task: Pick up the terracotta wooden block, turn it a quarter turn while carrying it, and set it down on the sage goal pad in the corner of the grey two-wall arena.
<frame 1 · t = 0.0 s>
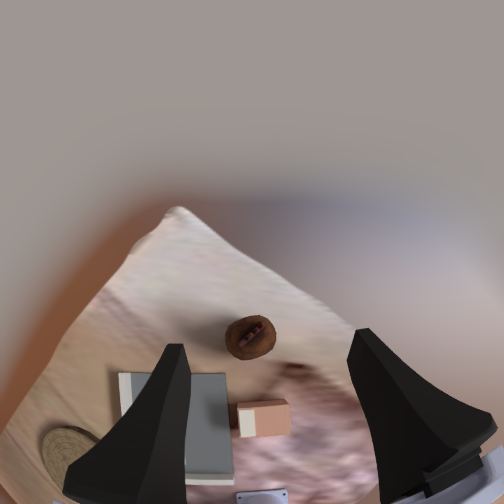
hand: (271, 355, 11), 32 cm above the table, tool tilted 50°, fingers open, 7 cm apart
wooden figurine: (249, 339, 43), on the table
arena: (177, 428, 37), on the table
brown flat round piece: (84, 464, 33), on the table
terracotta block: (262, 414, 39), on the table
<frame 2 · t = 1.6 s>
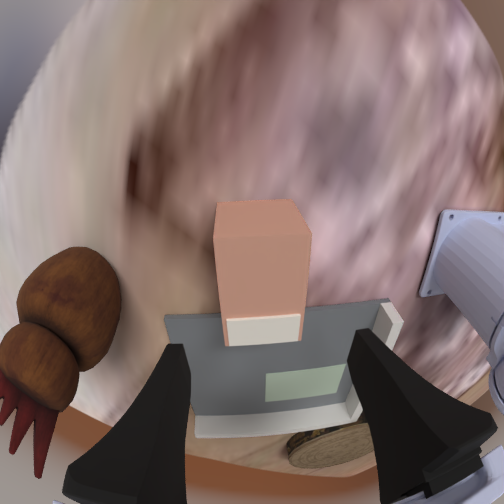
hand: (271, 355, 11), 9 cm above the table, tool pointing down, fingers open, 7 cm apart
wooden figurine: (93, 271, 19), on the table
arena: (279, 372, 25), on the table
brown flat round piece: (337, 433, 36), on the table
terracotta block: (255, 250, 19), on the table
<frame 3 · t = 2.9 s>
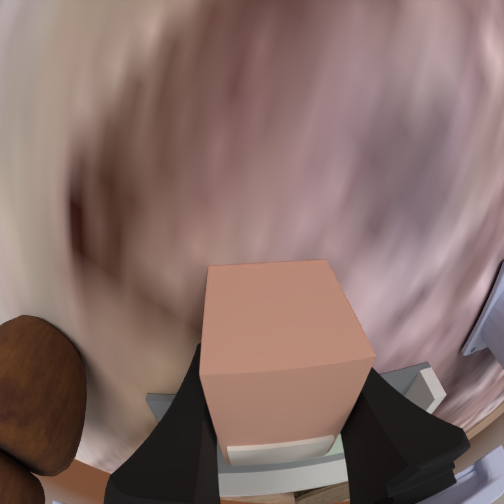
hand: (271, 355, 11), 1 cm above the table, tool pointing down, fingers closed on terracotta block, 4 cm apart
wooden figurine: (51, 340, 13), on the table
arena: (289, 440, 19), on the table
brown flat round piece: (348, 473, 29), on the table
terracotta block: (267, 329, 13), on the table, touching gripper
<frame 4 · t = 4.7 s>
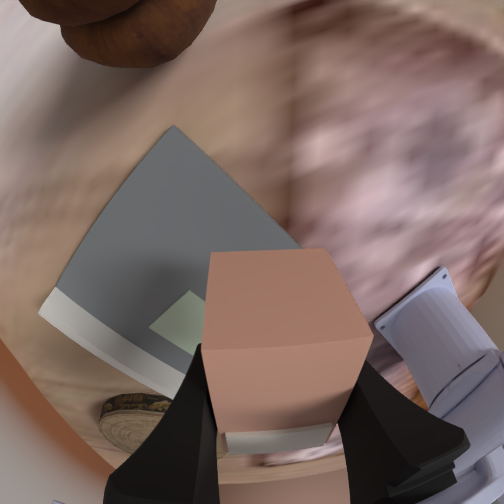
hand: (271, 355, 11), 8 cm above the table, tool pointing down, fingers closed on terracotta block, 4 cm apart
wooden figurine: (164, 22, 12), on the table
arena: (197, 301, 20), on the table
brown flat round piece: (164, 423, 30), on the table
terracotta block: (267, 318, 13), point 6 cm above the table, touching gripper
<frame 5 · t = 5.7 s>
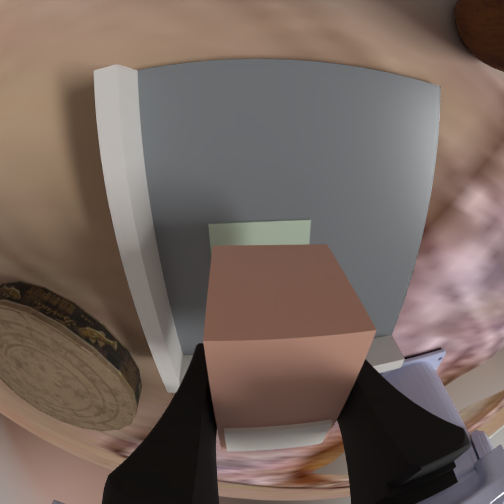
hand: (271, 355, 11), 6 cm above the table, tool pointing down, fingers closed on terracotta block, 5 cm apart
wooden figurine: (473, 31, 9), on the table
arena: (292, 238, 15), on the table
brown flat round piece: (58, 354, 20), on the table
terracotta block: (267, 314, 13), point 4 cm above the table, touching gripper
when the fingers open (3 cm above the table, at t = 6.5 s): terracotta block stays where it is, resting on arena.
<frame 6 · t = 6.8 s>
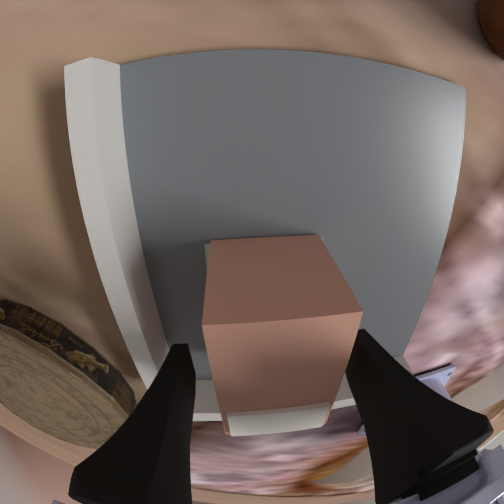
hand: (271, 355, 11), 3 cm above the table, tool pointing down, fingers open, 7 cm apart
wooden figurine: (496, 29, 7), on the table
arena: (301, 259, 13), on the table
brown flat round piece: (49, 372, 18), on the table
terracotta block: (265, 303, 14), point 1 cm above the table, touching arena
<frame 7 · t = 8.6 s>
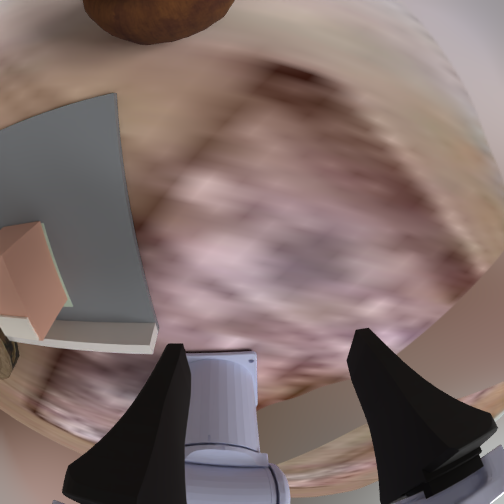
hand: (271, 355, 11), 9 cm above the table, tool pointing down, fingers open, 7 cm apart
wooden figurine: (180, 9, 12), on the table
arena: (44, 236, 18), on the table
terracotta block: (33, 263, 18), point 1 cm above the table, touching arena
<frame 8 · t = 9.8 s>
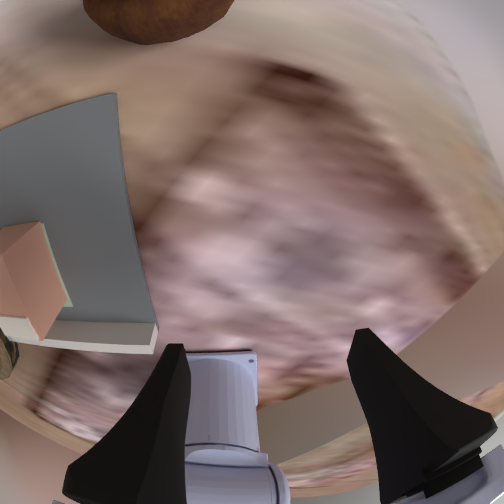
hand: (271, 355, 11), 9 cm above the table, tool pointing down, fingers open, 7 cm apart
wooden figurine: (179, 9, 12), on the table
arena: (44, 236, 18), on the table
terracotta block: (33, 263, 18), point 1 cm above the table, touching arena
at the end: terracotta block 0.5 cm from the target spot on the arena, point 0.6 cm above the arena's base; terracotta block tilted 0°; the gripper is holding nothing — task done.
